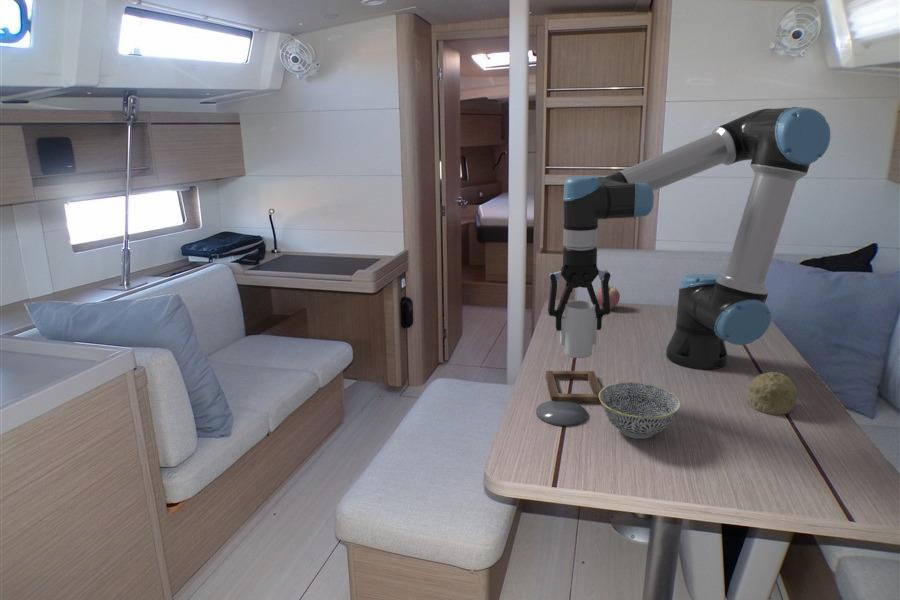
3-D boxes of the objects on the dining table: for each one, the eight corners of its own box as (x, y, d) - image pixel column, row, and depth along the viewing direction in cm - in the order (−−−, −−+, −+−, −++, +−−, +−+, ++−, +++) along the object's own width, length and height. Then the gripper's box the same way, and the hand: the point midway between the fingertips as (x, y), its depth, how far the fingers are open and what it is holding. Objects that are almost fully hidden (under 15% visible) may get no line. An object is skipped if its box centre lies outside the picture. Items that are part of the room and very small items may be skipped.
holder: (593, 376, 151) (593, 371, 151) (604, 403, 137) (605, 397, 136) (545, 376, 152) (545, 370, 151) (551, 402, 137) (552, 396, 137)
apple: (595, 311, 202) (596, 289, 200) (594, 305, 209) (595, 283, 207) (619, 312, 201) (621, 289, 199) (617, 306, 208) (619, 283, 206)
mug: (589, 360, 136) (591, 310, 132) (560, 356, 138) (562, 307, 135) (598, 345, 144) (600, 298, 141) (570, 342, 147) (572, 295, 144)
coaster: (582, 403, 137) (582, 400, 137) (590, 426, 126) (591, 423, 126) (534, 402, 138) (534, 400, 137) (538, 425, 127) (538, 423, 127)
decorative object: (760, 429, 131) (792, 403, 125) (730, 391, 137) (759, 365, 130) (783, 422, 136) (816, 397, 130) (753, 386, 142) (783, 360, 135)
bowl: (666, 459, 114) (670, 423, 112) (586, 438, 122) (587, 404, 120) (684, 424, 127) (688, 391, 125) (610, 407, 135) (612, 376, 133)
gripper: (620, 242, 137) (616, 336, 144) (534, 244, 138) (534, 338, 145) (628, 248, 130) (623, 347, 137) (537, 251, 131) (537, 349, 138)
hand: (578, 342), depth 141 cm, fingers closed on mug, 7 cm apart
